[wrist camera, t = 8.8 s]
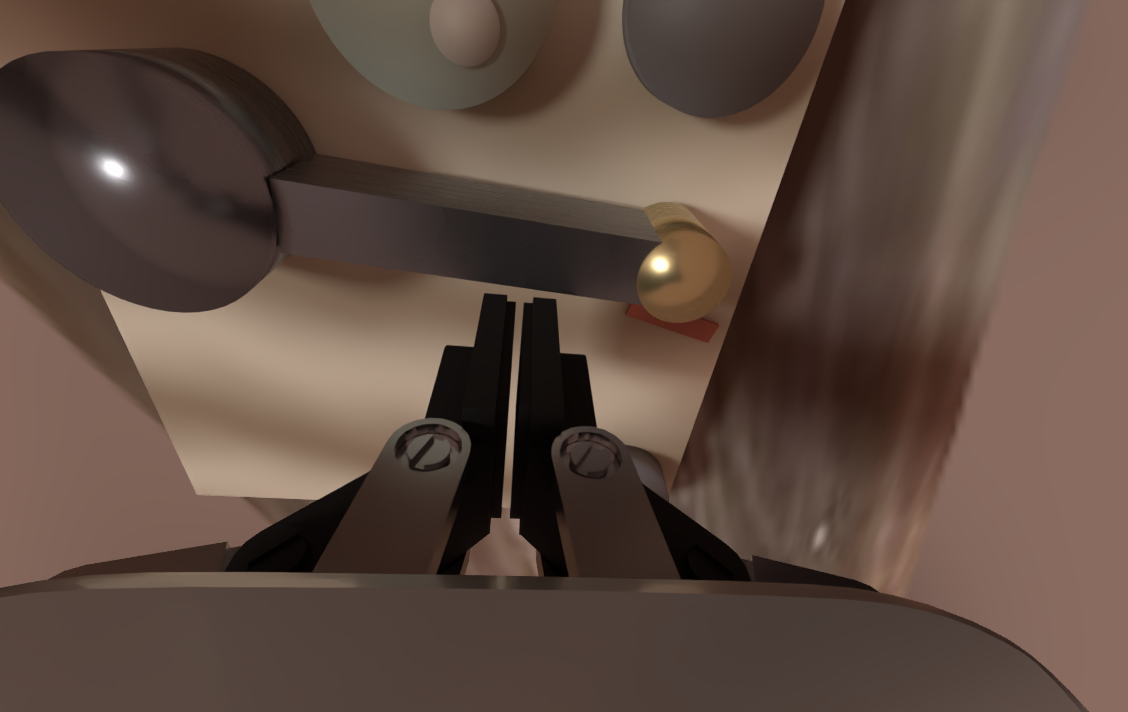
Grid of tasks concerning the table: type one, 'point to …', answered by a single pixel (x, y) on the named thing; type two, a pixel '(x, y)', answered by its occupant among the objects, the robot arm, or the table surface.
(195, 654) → the robot arm
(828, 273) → the table surface
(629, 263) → the grey lever handle
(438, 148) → the plate
